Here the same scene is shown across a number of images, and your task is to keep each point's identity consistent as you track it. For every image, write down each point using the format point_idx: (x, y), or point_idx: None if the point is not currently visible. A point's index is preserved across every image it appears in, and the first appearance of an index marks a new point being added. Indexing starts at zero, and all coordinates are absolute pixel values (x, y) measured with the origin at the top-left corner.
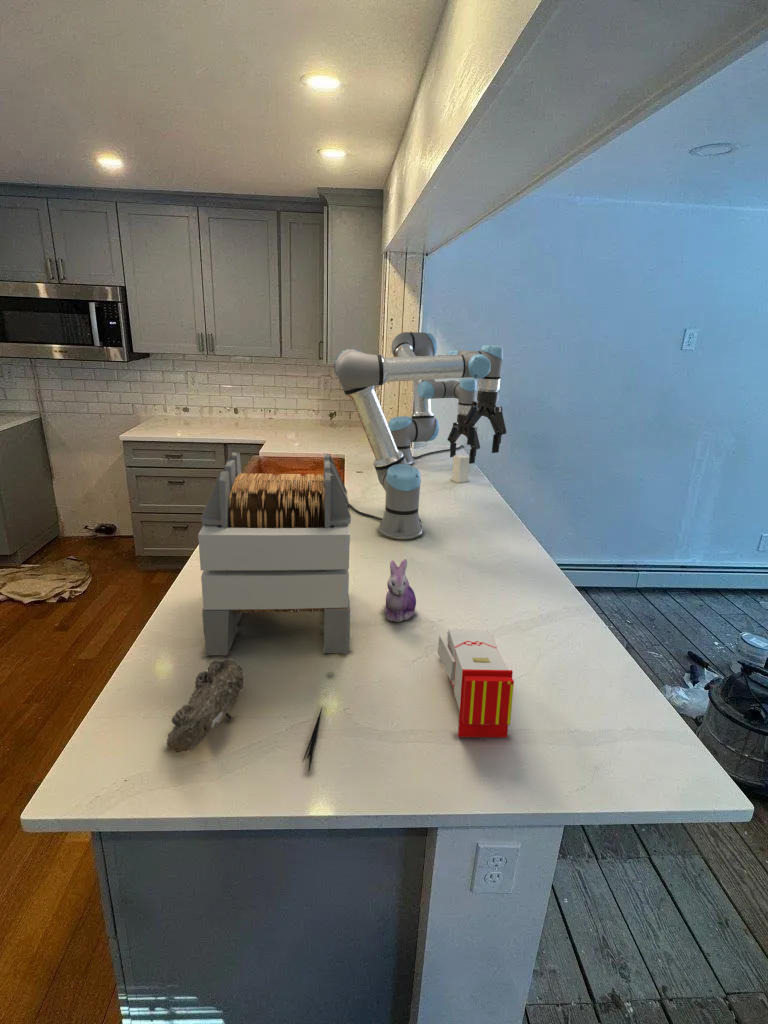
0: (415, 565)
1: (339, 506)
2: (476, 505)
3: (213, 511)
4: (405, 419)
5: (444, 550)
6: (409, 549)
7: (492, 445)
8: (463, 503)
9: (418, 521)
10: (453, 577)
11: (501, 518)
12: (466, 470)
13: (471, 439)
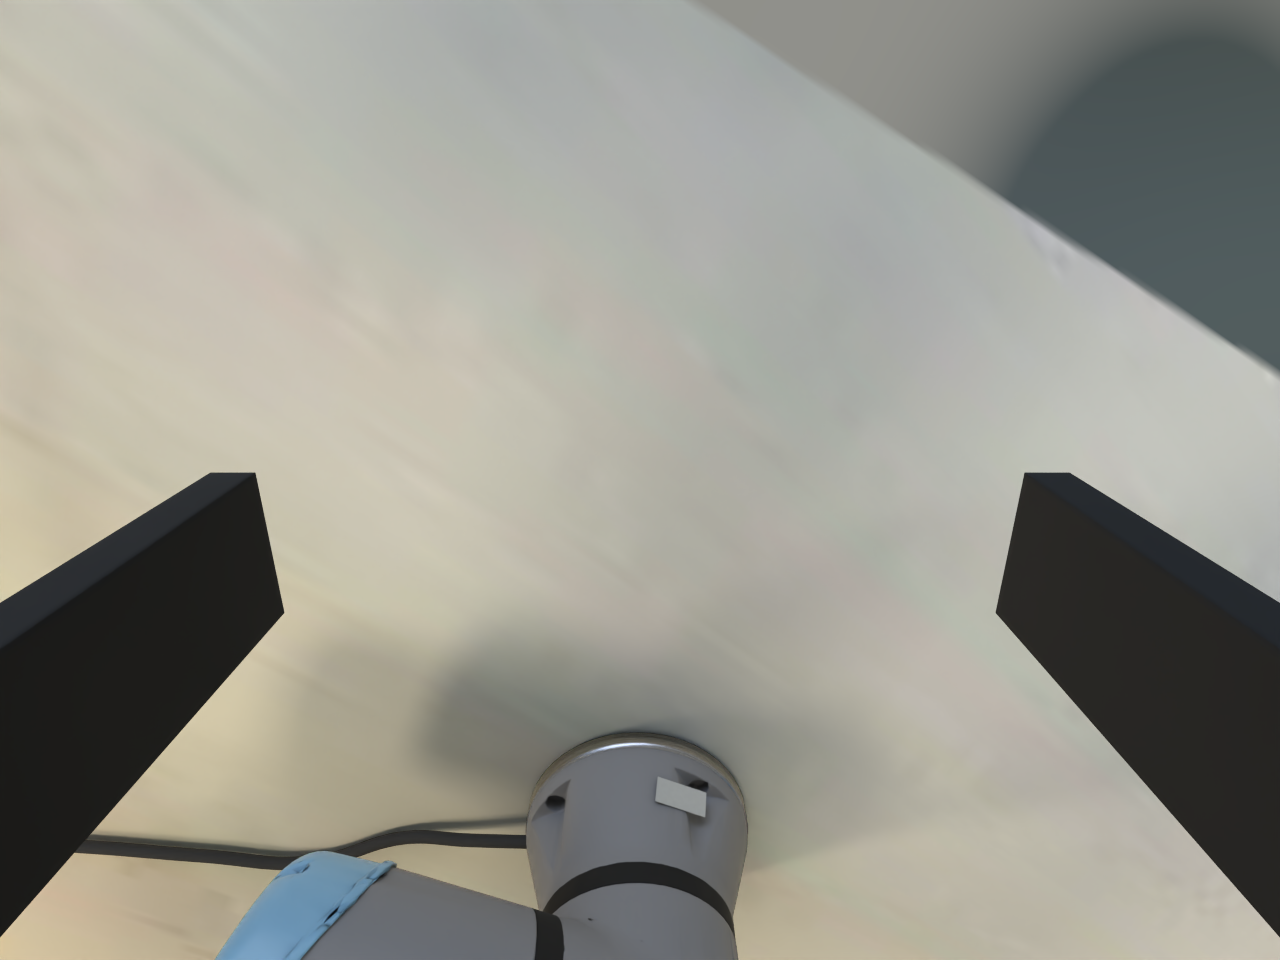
0: (961, 928)
1: None
2: (416, 102)
3: None
4: None
5: (925, 769)
6: (824, 876)
7: (1086, 710)
8: (336, 176)
9: (725, 844)
10: (1137, 878)
11: (750, 135)
12: None
13: (205, 604)
